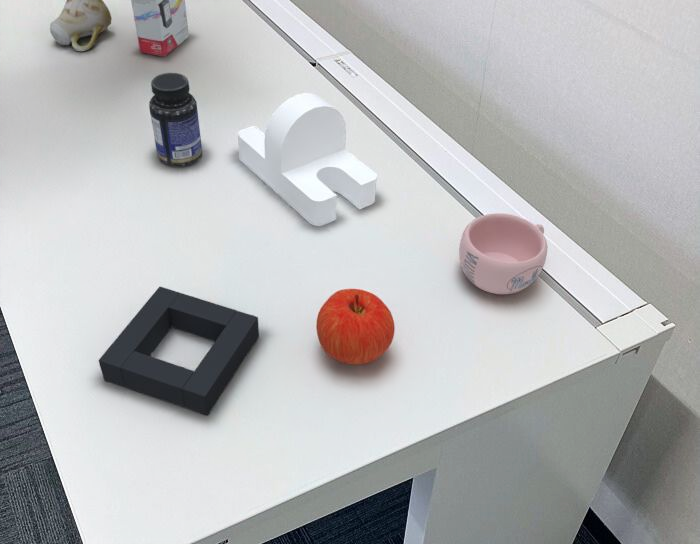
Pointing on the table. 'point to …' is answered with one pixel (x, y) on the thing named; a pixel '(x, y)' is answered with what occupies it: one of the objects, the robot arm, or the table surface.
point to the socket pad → (171, 380)
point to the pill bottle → (175, 120)
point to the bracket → (308, 159)
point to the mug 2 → (502, 252)
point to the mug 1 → (80, 22)
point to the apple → (355, 326)
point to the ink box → (160, 25)
